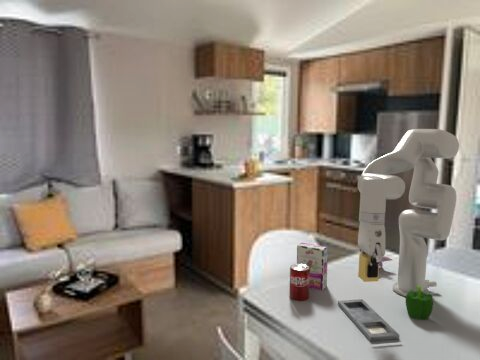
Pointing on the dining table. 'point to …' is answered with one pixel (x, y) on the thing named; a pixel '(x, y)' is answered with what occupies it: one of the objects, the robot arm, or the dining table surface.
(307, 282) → the soda can
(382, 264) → the lily
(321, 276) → the candy bar box
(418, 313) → the bell pepper
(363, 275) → the yellow block
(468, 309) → the dining table surface
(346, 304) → the gray recessed board
